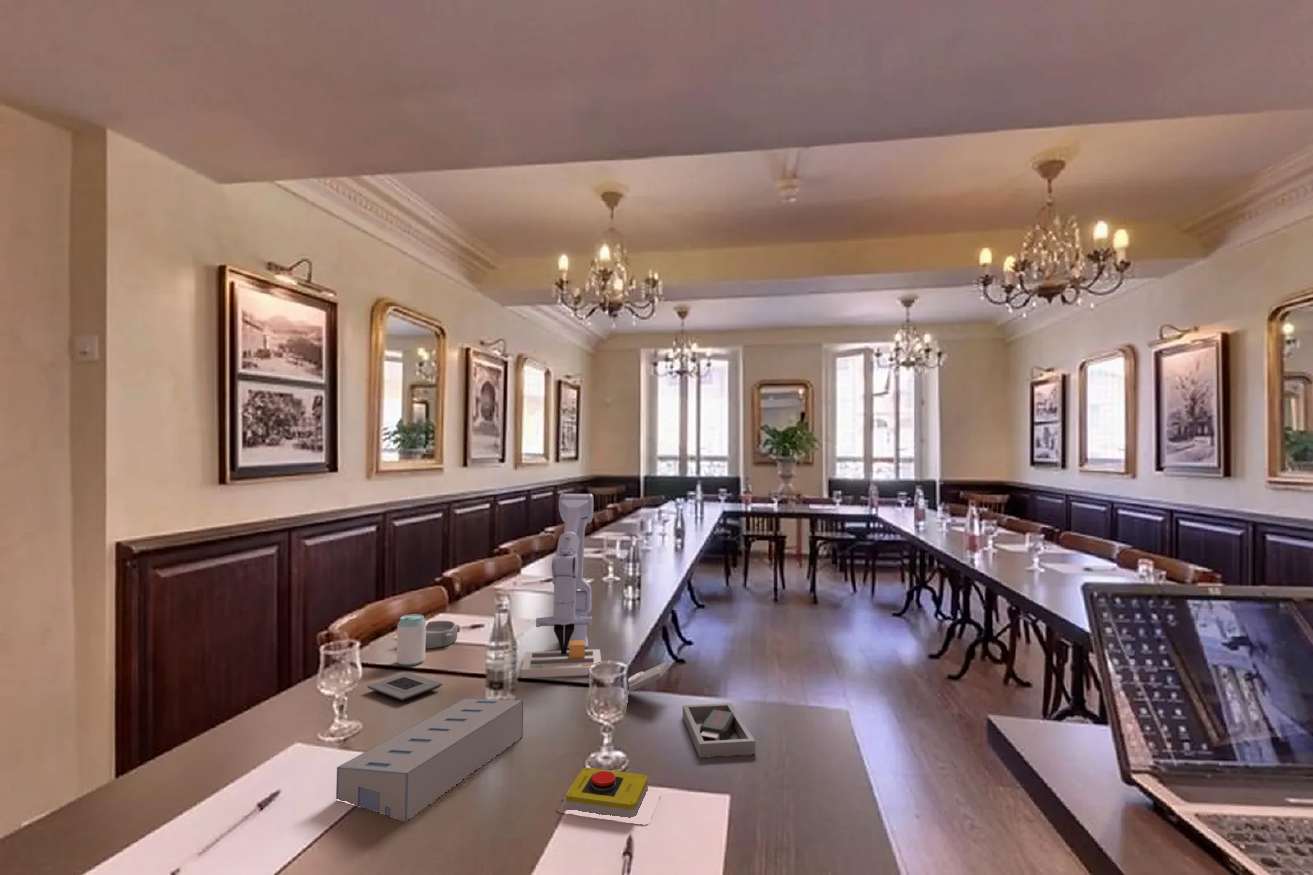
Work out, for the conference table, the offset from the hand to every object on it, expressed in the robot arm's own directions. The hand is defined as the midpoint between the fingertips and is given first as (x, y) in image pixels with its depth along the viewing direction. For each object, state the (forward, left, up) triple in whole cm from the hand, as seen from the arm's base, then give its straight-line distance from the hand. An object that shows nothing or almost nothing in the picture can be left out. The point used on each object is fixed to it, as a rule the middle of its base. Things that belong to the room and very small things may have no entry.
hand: (563, 653), depth 158 cm
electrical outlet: (+13, -36, -4) cm, 39 cm away
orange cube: (0, +3, -1) cm, 4 cm away
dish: (-25, -38, -4) cm, 46 cm away
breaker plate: (0, 0, -3) cm, 3 cm away
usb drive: (+43, +31, -3) cm, 53 cm away
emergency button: (+64, +8, -4) cm, 65 cm away
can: (-8, -40, -4) cm, 41 cm away
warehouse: (+49, -21, -4) cm, 54 cm away
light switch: (+23, +17, -4) cm, 29 cm away
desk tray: (+43, +31, -3) cm, 53 cm away
